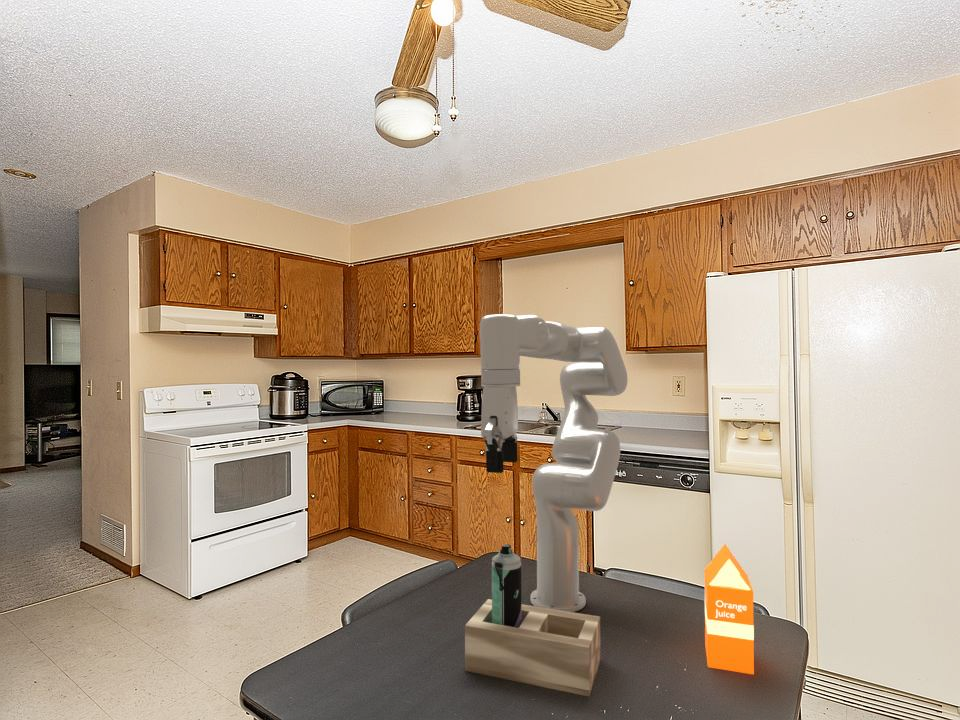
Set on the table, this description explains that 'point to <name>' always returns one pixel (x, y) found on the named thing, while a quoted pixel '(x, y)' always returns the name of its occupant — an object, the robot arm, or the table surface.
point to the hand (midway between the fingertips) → (502, 466)
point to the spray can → (506, 588)
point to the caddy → (536, 648)
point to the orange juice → (728, 615)
